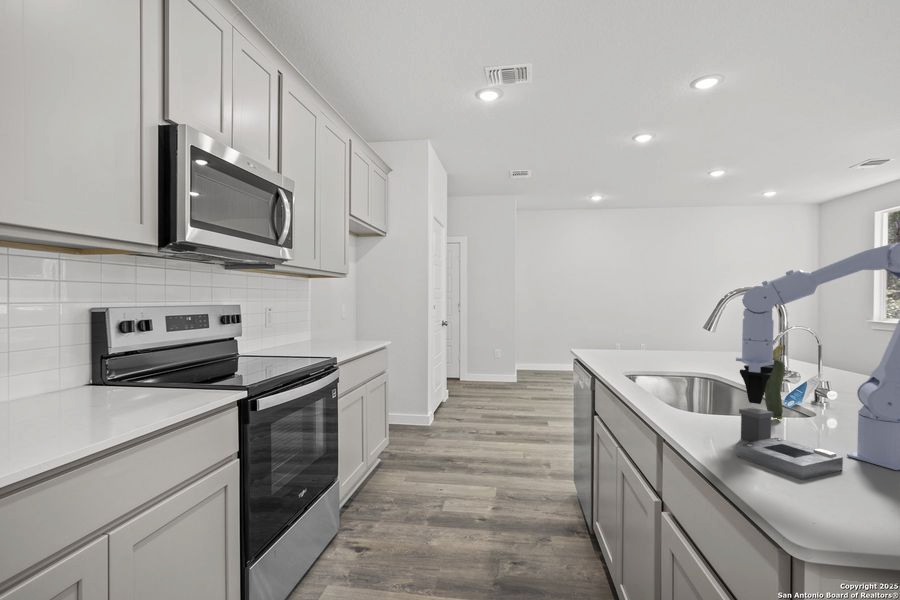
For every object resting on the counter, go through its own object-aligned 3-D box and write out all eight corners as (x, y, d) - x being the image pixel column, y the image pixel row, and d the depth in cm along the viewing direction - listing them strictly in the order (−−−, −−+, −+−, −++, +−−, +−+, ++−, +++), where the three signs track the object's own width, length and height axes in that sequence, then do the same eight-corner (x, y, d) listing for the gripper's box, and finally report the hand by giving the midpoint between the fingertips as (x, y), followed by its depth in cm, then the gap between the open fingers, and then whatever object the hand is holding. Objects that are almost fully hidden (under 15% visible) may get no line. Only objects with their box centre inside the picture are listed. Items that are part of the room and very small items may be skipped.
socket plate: (775, 449, 95) (776, 435, 95) (842, 470, 84) (842, 454, 83) (737, 456, 90) (737, 441, 90) (802, 479, 79) (802, 463, 79)
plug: (752, 436, 103) (752, 407, 103) (772, 443, 98) (773, 412, 98) (738, 439, 101) (739, 408, 101) (759, 445, 97) (759, 414, 97)
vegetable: (764, 420, 116) (766, 344, 116) (762, 416, 120) (763, 343, 120) (785, 422, 114) (787, 345, 114) (782, 418, 118) (783, 344, 118)
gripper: (739, 336, 107) (738, 391, 108) (732, 341, 96) (731, 403, 96) (775, 338, 103) (774, 396, 103) (772, 343, 92) (771, 408, 92)
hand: (756, 399), depth 99 cm, fingers open, 7 cm apart
